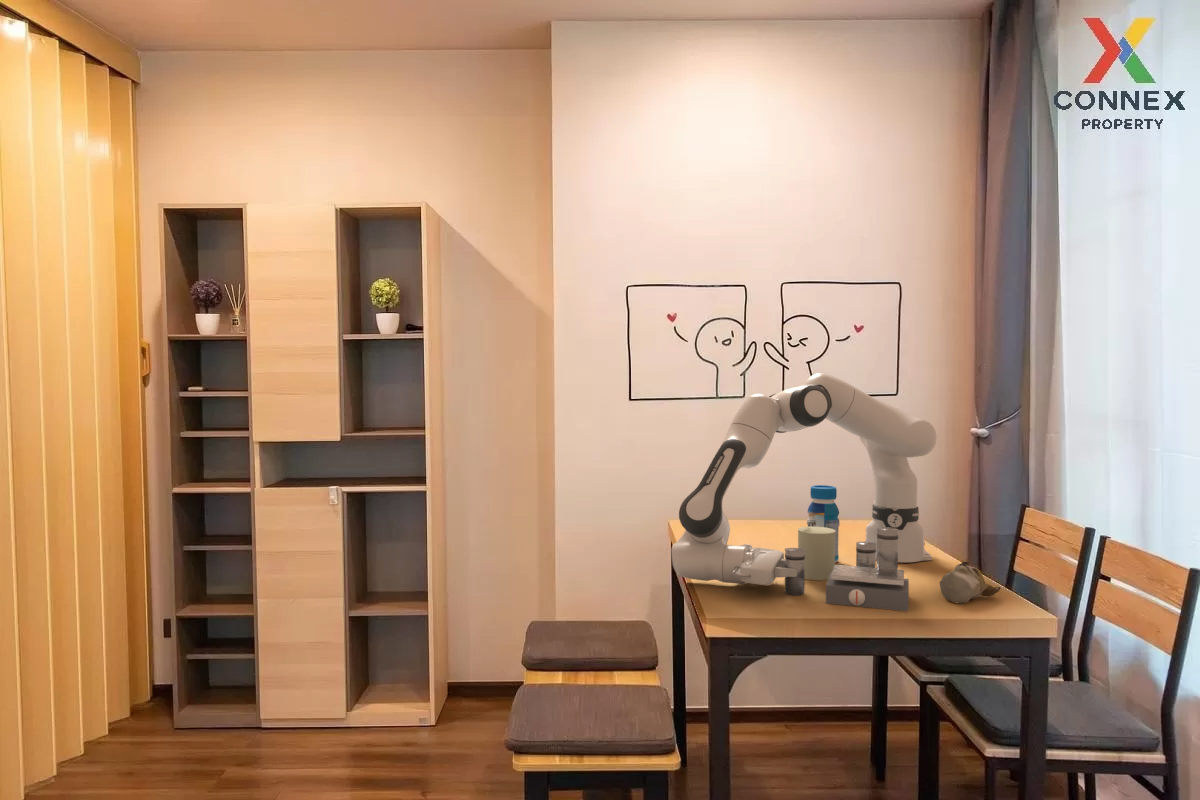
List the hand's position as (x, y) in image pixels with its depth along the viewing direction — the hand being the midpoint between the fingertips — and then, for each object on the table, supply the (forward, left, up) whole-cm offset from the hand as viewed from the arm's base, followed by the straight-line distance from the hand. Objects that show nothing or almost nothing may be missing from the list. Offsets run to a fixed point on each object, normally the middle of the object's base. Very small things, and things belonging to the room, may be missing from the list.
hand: (798, 569), depth 188 cm
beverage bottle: (-35, +2, -6) cm, 36 cm away
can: (-18, +2, -6) cm, 19 cm away
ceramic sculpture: (-9, +36, -6) cm, 37 cm away
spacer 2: (-13, +14, -6) cm, 20 cm away
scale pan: (0, +15, 0) cm, 15 cm away
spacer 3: (0, +19, +1) cm, 19 cm away
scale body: (0, +15, -6) cm, 16 cm away
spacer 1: (0, -1, -6) cm, 6 cm away
